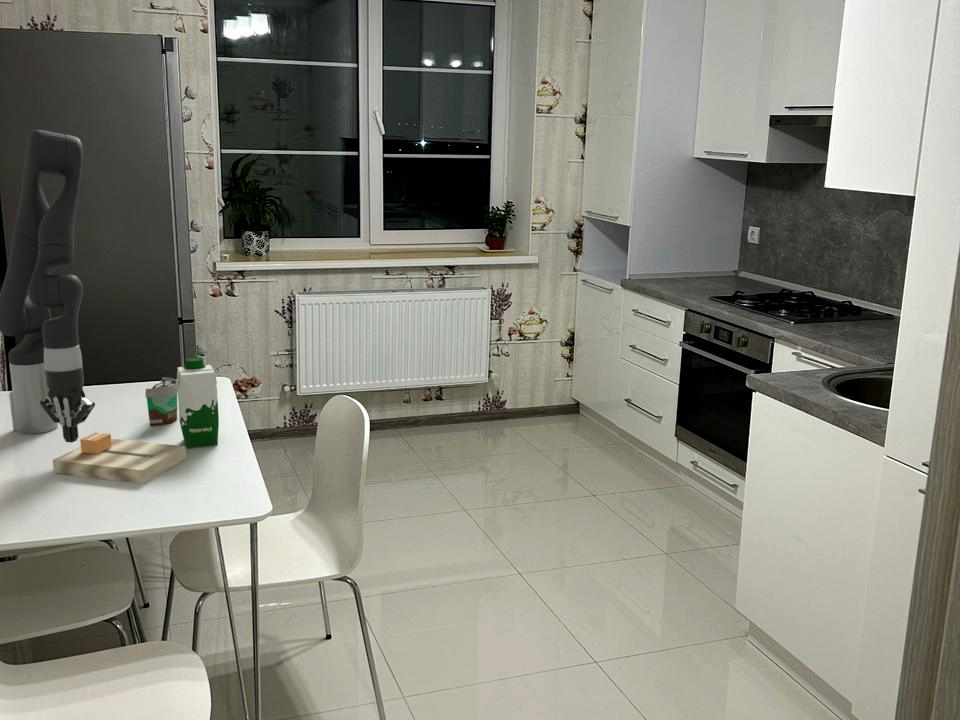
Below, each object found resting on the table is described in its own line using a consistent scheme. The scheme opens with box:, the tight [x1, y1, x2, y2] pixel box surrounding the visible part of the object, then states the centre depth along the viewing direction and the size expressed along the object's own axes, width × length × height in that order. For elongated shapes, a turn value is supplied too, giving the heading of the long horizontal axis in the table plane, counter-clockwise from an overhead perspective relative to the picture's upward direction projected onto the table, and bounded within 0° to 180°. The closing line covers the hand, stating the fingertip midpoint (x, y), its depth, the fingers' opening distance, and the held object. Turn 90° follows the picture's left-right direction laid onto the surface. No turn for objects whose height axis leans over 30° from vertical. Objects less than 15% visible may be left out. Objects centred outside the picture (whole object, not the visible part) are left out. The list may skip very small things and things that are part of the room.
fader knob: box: [80, 432, 112, 454], centre depth 201 cm, size 4×5×3 cm
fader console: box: [52, 438, 187, 485], centre depth 200 cm, size 22×16×3 cm
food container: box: [144, 376, 178, 427], centre depth 232 cm, size 12×6×10 cm, turn 179°
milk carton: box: [176, 356, 220, 449], centre depth 214 cm, size 9×9×20 cm
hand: (71, 441), depth 202 cm, fingers closed
